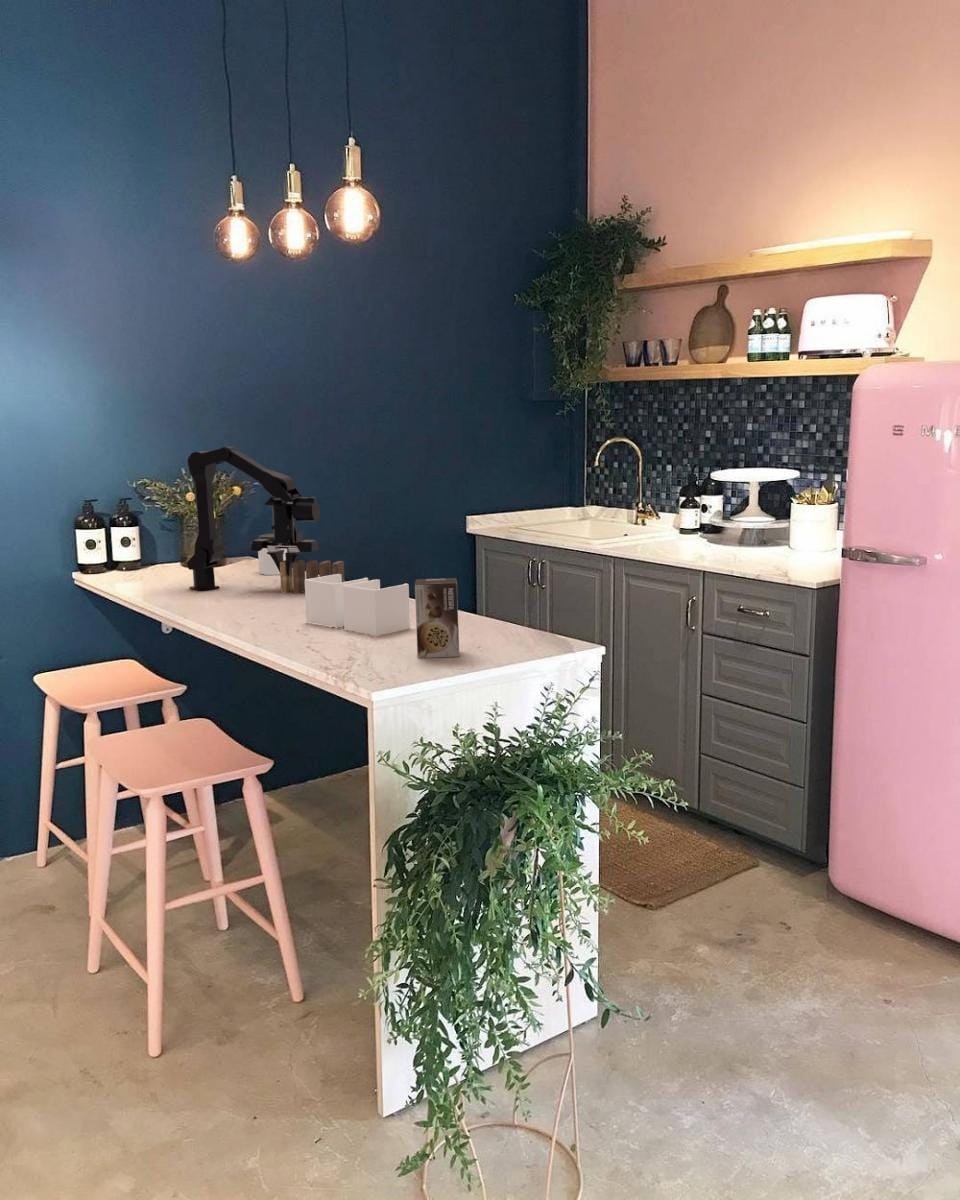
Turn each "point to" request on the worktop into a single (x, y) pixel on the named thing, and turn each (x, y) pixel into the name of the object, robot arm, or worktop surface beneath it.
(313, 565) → the domino
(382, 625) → the white open box
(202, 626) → the worktop surface
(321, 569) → the domino
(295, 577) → the domino
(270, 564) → the jar
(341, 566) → the domino
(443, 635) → the coffee box
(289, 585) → the domino
